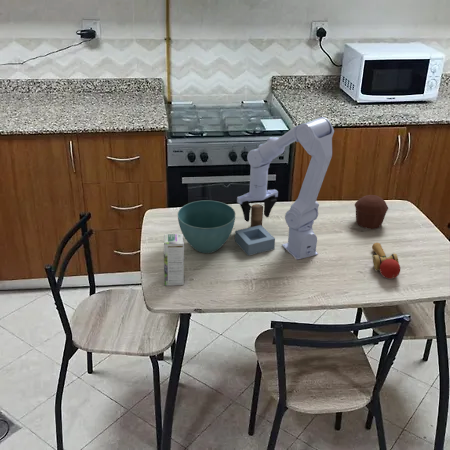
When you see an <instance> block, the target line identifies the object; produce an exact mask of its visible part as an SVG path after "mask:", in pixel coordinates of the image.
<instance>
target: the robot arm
mask: <svg viewBox="0 0 450 450" xmlns="http://www.w3.org/2000/svg"><path fill="white" fill-rule="evenodd" d="M334 129H335V128H334V127H333V125H332V123H331V121H330V120H329V119H328V118H327V117H324V116H319V117H318V118H317V117H316V119H313V120H310V121H307V122H303V123H300V124H299V125H296V126H294V127H291V128H290V130H288V131H287V132H285V133H284V134H283V135H281V136H280V137H275V136H274V137H273V136H271V137H268V138H266V142H264V143H261V144H259V145H258V147H257V148H255V149H251V150H249V152H248V153H247V157H246V159H247V162H248V165H250V174H249V192H247V193H244V194H243V195H240V196H239V195H238V196H237V198H236V203H238V205H240V208H241V211H242V214H243V218H244V221H245V222H246V223H249V222H250V217H251V206H252V205H250V202H254V201H263V204H264V205H263V216H265V217H266V218H269V217H270V215H271V214H270V213H271V212H272V210H273V207H274V205H275V204H277V200H278V199H277V198H278V197H279V191H278V190H277V189H268V176H269V175H268V174H269V168H270V164H271V162H272V161H273V160H274V159H276V158H278V156H280V155H282V154H284V152H285V150H286V149H285V148H286V147H288V146H289V145H291V144H293V143H295V142H296V143H299V144H300V145H301V146H302V147H303V149H304V150H305V151H306V153H307V154H308V155H310V156H311V159H310V161H309V164H308V167H307V170H306V174H305V175H304V179H303V182H302V184H301V186H300V187H301V188H300V190H299V194H298V197H297V198H296V200H295V201H294V202H293V203H292V204H291V206H290V208H289V210H288V211H286V213H285V215H284V219H285V224H286V225H287V227H289V228H288V239H287V242H286V243H283V244H281V247H283V248H284V249H285V250H286V251H287V252H288V253H289V254H290V255H291V256H292V257H294V259H296V260H302V259H305V258H309V257H313V256H317V255H318V254H319V253H318V252H317V244H318V243H317V242H318V237H317V235H316V234H315V233H314V230H313V225H314V221H315V220H317V219H318V217H319V206H320V204H319V202H318V201H317V199H318V196H319V193H320V190H321V188H322V185H323V181H324V179H325V177H326V174H327V171H328V168H329V166H330V163H331V159H332V157H333V136H334V133H335V130H334Z"/></svg>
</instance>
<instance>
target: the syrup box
mask: <svg viewBox="0 0 450 450" xmlns="http://www.w3.org/2000/svg"><path fill="white" fill-rule="evenodd" d="M184 239H185V237H184V236H183V234H182V233H165V234H163V269H164V270H163V275H164V286H166V287H167V286H170V287H171V286H184V284H185V244H184V243H185V242H184V241H185V240H184Z"/></svg>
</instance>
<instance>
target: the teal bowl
mask: <svg viewBox="0 0 450 450" xmlns="http://www.w3.org/2000/svg"><path fill="white" fill-rule="evenodd" d="M177 221H178V225H179V228H180V232H181V234H183V237H184V239H185V241H186V242H187V244H189V245H190V246H191V247H192V248H193V249H194V250H195V251H197V252H199V253H202V254H210V253H211V254H212V253H215V252H217V251H218V250H219V249H221V247H223V245H224V244H225V243H227V242H228V241H227V240H228V239H229V237H230V236H231V234H232V231H233V228H234V226H235V221H236V211H235V209H234V208H233V207H232V206H230V205H229V204H227V203H225V202H221V201H217V200H205V199H204V200H197V201H192V202H189V203H187V204H185V205H183V206H181V207H180V208H179V210H178V212H177Z"/></svg>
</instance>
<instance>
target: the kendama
mask: <svg viewBox="0 0 450 450" xmlns="http://www.w3.org/2000/svg"><path fill="white" fill-rule="evenodd" d="M371 248H372V249H371V250H373V251H374V253H375V254H373V257H372V262H373V263H372V265H373V268H374V270H375V271H379V272H380V275H381V276H383V277H384V278H386V279H391V280H393V279H395V278H397V277H398V276H399V275H400V273H401V265H400V263H399V262H400V261H399V257H398V255H397V253H391V254H390V255H389V256H386V253H385V251H384V248H383V247H382V245H381V243H379V242H374V243H373V244H372V245H371Z"/></svg>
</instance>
